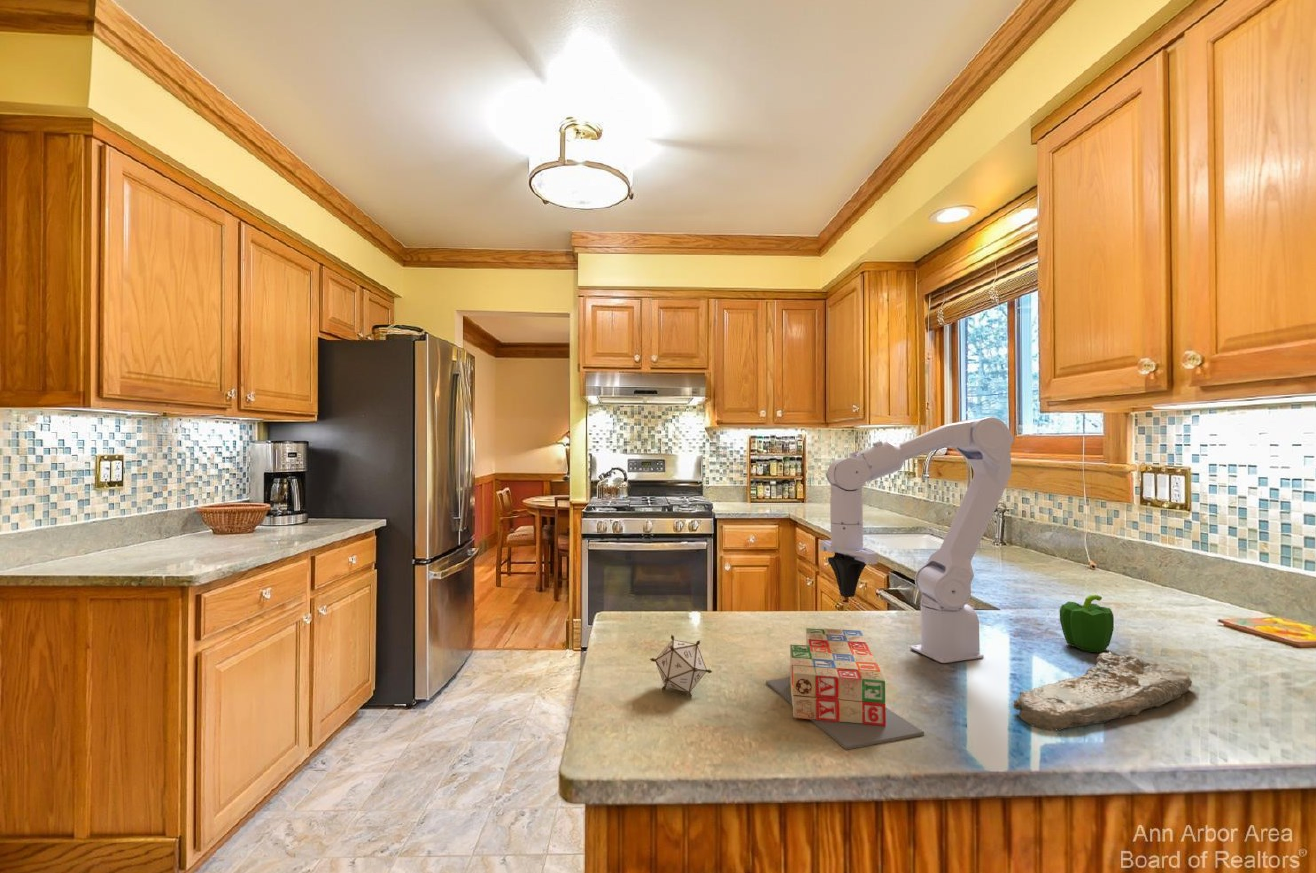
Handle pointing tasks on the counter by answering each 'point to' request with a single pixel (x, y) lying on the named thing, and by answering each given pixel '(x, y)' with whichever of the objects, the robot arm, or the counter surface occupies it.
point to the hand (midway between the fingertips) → (847, 596)
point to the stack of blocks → (836, 679)
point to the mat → (856, 724)
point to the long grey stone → (1102, 693)
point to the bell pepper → (1087, 624)
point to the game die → (681, 665)
